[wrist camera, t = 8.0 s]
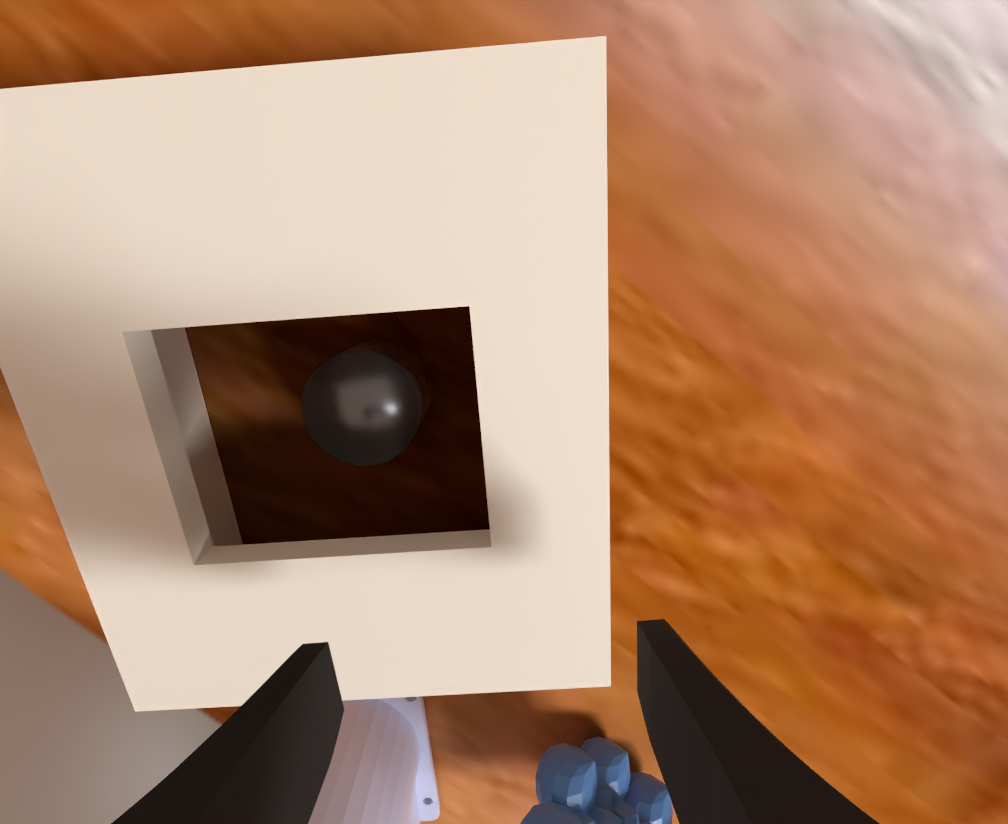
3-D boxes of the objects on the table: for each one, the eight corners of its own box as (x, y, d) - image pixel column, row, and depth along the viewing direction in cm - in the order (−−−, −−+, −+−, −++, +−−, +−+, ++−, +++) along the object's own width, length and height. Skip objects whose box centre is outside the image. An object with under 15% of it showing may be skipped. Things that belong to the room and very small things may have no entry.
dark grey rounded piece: (437, 433, 19) (425, 462, 16) (341, 439, 19) (312, 468, 16) (426, 336, 18) (411, 349, 15) (324, 343, 18) (290, 356, 15)
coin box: (582, 572, 21) (611, 686, 15) (234, 593, 21) (134, 711, 16) (569, 121, 16) (606, 36, 10) (110, 159, 16) (-106, 98, 10)
